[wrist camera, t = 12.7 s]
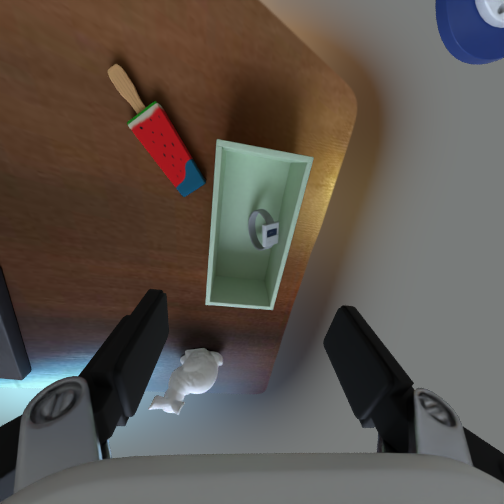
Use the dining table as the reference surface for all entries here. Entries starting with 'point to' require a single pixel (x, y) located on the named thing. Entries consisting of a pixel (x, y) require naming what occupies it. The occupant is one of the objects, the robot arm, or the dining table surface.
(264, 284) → the bin
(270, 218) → the wristwatch
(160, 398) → the rabbit
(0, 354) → the notebook
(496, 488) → the robot arm
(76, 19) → the dining table surface
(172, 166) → the popsicle
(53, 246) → the dining table surface
